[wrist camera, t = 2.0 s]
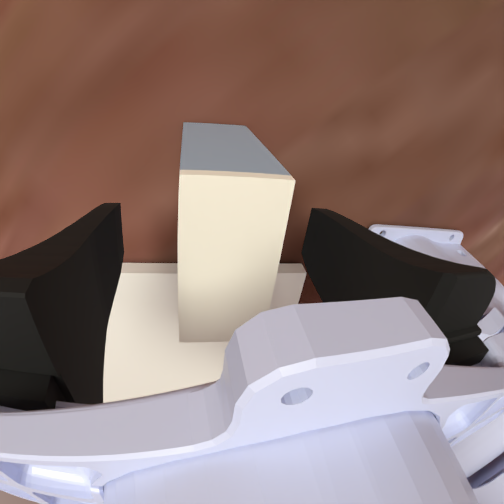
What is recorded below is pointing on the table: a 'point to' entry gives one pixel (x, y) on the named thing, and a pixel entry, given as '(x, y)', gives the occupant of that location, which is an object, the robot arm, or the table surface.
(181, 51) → the table surface
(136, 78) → the table surface
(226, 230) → the block
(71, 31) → the table surface
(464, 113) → the table surface
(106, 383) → the tile
